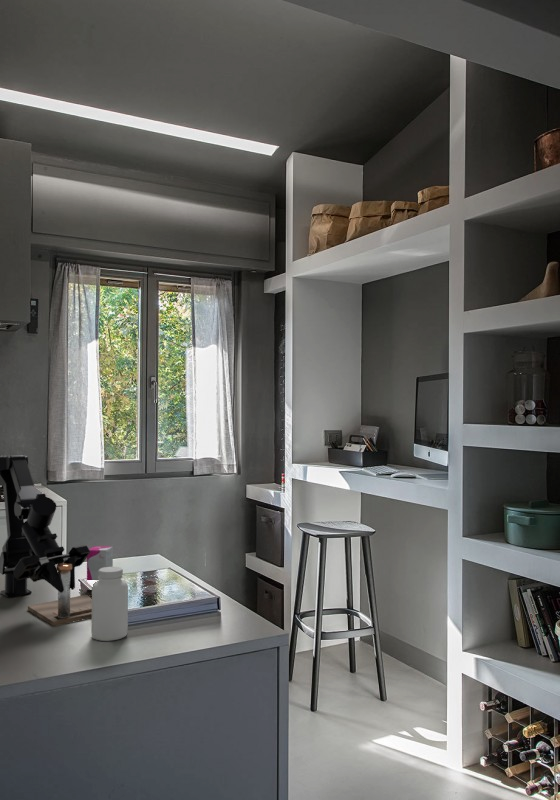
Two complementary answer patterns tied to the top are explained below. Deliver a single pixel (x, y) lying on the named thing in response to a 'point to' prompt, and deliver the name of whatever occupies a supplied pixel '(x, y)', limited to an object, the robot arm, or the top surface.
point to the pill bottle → (109, 605)
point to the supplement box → (98, 561)
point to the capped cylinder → (65, 595)
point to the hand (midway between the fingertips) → (68, 590)
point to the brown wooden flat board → (78, 610)
